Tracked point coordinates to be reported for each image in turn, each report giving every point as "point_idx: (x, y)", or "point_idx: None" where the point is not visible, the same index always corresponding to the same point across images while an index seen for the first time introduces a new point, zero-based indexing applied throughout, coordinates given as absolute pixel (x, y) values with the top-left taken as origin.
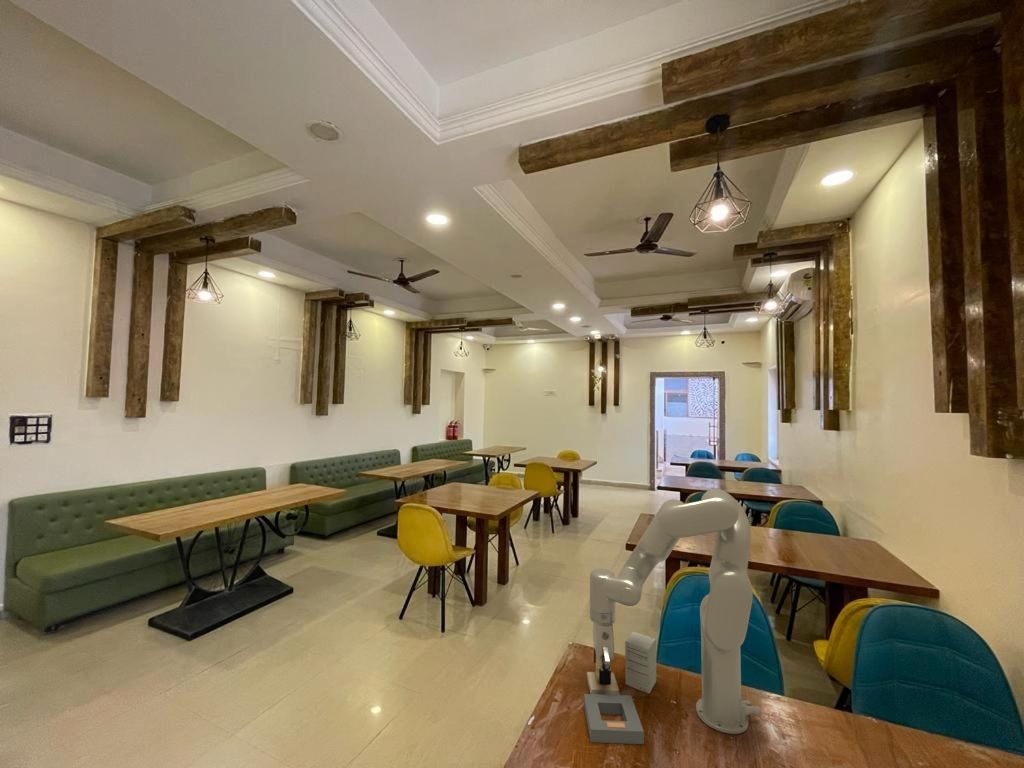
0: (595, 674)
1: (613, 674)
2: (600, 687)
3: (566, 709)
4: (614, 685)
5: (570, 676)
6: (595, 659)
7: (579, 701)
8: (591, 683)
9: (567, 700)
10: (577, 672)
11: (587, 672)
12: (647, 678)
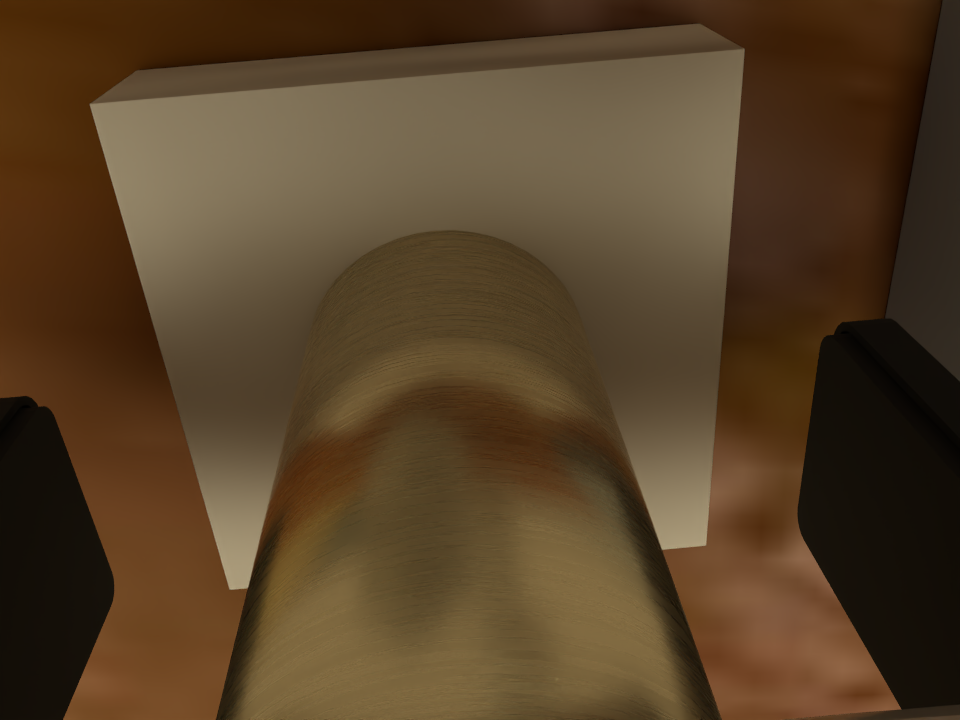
0: (266, 470)
1: (155, 113)
2: (649, 408)
3: (893, 709)
4: (574, 138)
5: None
6: (78, 643)
7: (766, 598)
8: None
9: (742, 706)
10: (127, 624)
11: (244, 586)
12: None
